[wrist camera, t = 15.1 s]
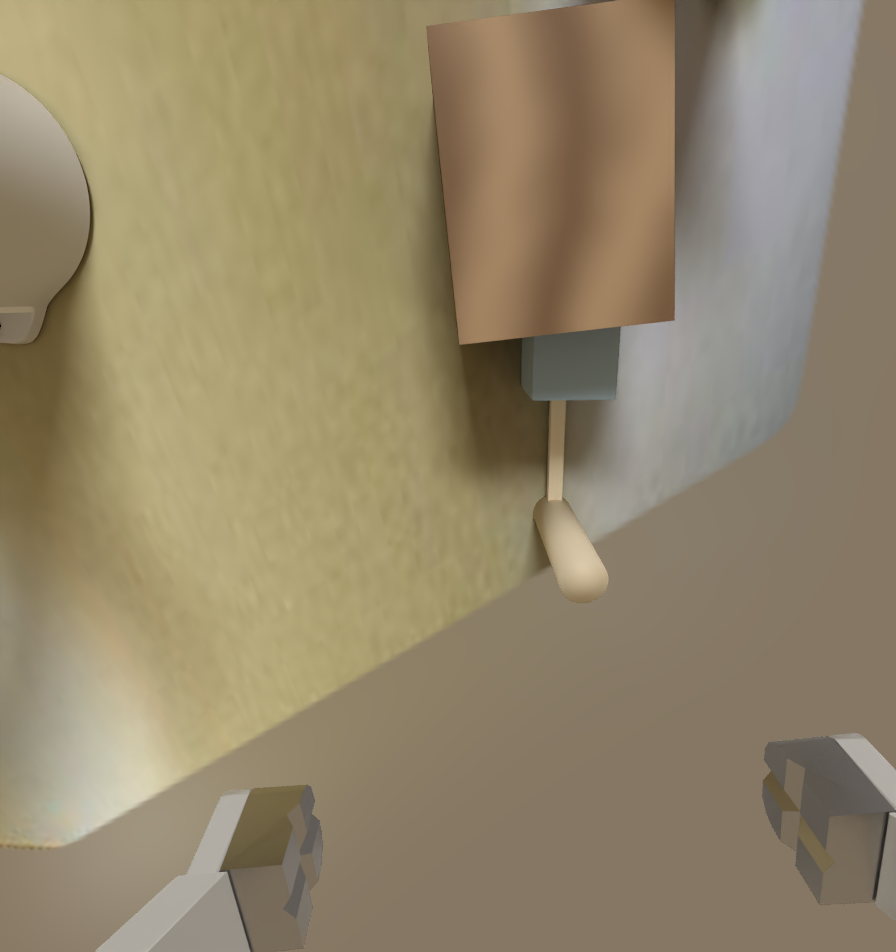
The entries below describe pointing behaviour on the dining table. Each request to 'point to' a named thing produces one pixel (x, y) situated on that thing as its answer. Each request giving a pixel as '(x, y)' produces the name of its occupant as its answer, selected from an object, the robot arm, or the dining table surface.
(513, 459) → the dining table surface
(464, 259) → the walnut cubby
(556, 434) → the cream rounded block
